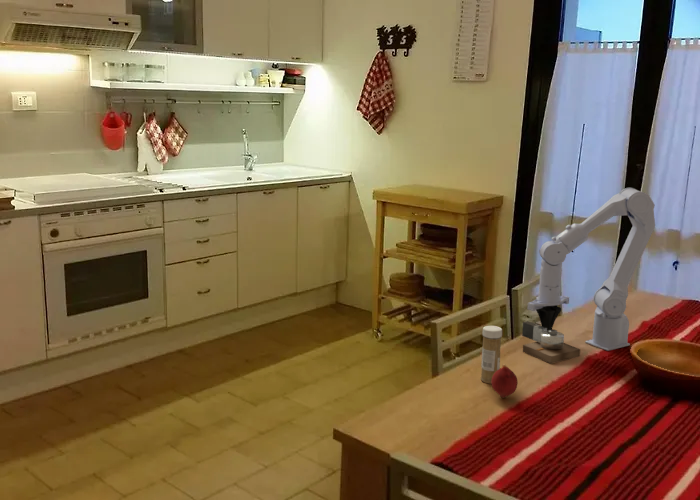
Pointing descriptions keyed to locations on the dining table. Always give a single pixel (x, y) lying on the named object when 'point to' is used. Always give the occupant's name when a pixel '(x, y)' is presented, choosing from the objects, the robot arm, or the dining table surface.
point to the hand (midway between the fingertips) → (546, 331)
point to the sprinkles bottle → (490, 352)
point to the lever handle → (543, 335)
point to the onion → (504, 381)
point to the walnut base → (551, 352)
